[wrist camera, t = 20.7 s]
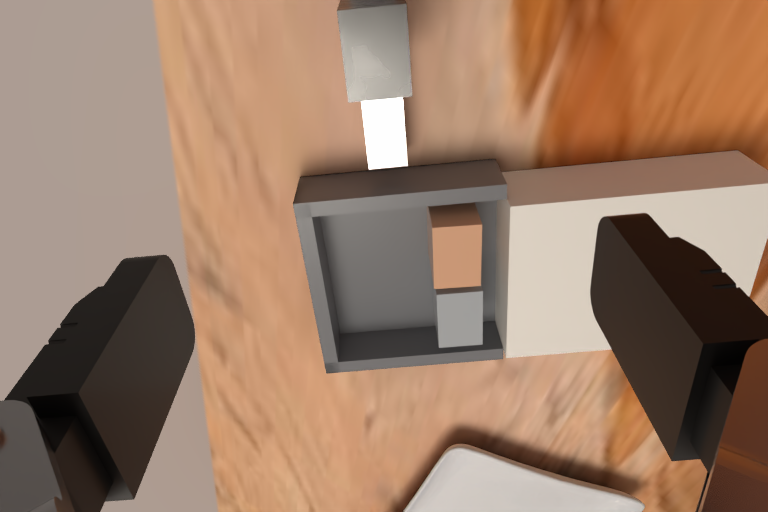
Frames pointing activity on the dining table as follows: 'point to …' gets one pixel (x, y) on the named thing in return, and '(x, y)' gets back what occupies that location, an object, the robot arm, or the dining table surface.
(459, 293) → the pale grey box
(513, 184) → the long rectangular box
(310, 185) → the box
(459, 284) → the tan block
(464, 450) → the salad plate
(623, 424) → the dining table surface
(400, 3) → the scraper
